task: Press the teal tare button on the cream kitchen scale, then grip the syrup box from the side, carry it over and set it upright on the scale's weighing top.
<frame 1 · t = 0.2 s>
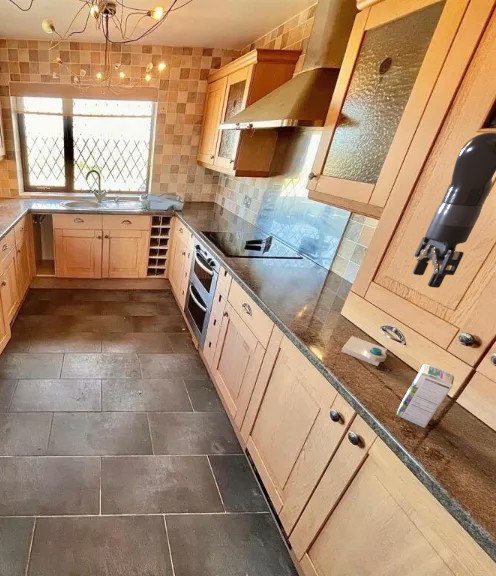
hand: (424, 280, 84), 31 cm above the countertop, tool pointing down, fingers open, 8 cm apart
tare button: (376, 351, 98), point 4 cm above the countertop, slide at 0.1 cm
syrup box: (412, 416, 81), on the countertop
scale: (363, 352, 104), on the countertop
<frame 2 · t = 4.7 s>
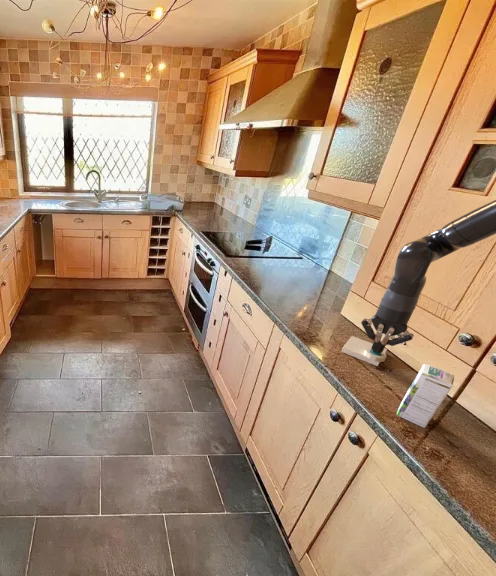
hand: (376, 351, 98), 4 cm above the countertop, tool pointing down, fingers closed
tare button: (375, 353, 99), point 3 cm above the countertop, slide at -0.7 cm, touching gripper
everything else where it was.
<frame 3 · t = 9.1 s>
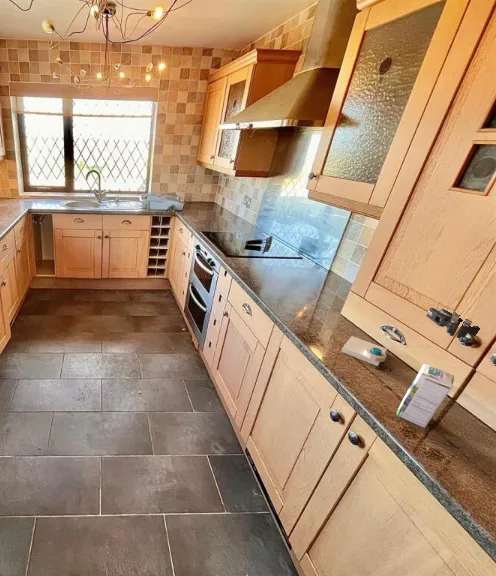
hand: (456, 333, 76), 22 cm above the countertop, tool horizontal, fingers closed
tare button: (376, 351, 98), point 4 cm above the countertop, slide at 0.1 cm
everything else where it was.
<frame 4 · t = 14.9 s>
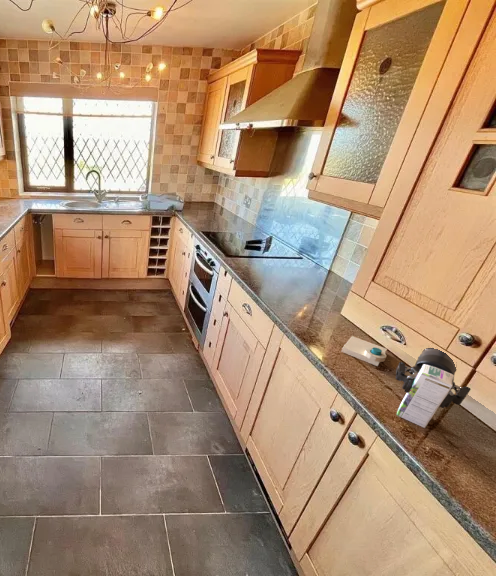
hand: (424, 396, 75), 9 cm above the countertop, tool horizontal, fingers closed on syrup box, 6 cm apart
syrup box: (412, 416, 81), on the countertop, touching gripper
everything else where it was.
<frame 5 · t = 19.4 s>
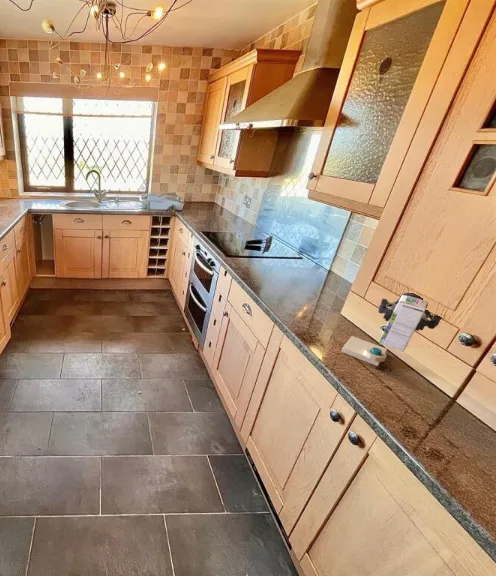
hand: (402, 322, 85), 20 cm above the countertop, tool horizontal, fingers closed on syrup box, 6 cm apart
syrup box: (392, 344, 90), point 11 cm above the countertop, touching gripper
everything else where it was.
when the fingers open (10 cm above the countertop, at t = 24.2 s): syrup box stays where it is, resting on scale.
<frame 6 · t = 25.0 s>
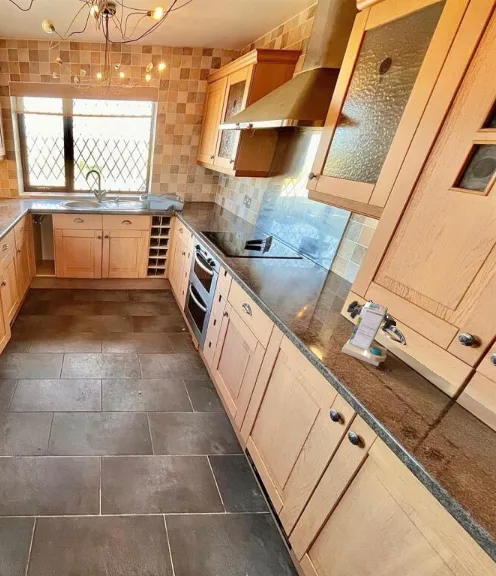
hand: (368, 321, 100), 12 cm above the countertop, tool horizontal, fingers open, 8 cm apart
syrup box: (360, 343, 106), point 2 cm above the countertop, touching scale
everything else where it was.
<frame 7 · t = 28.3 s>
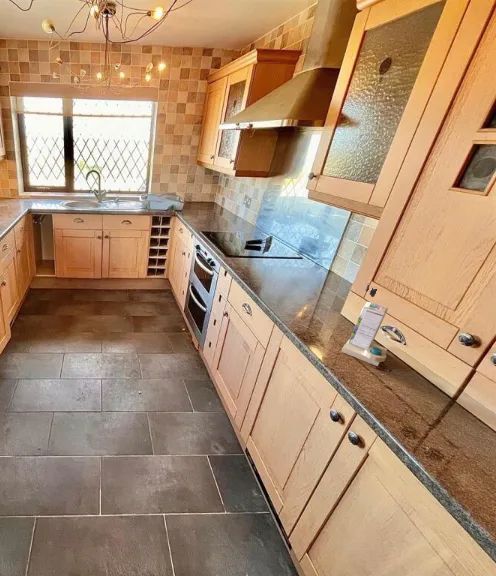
hand: (388, 298, 101), 18 cm above the countertop, tool horizontal, fingers open, 8 cm apart
nothing on the countertop moved.
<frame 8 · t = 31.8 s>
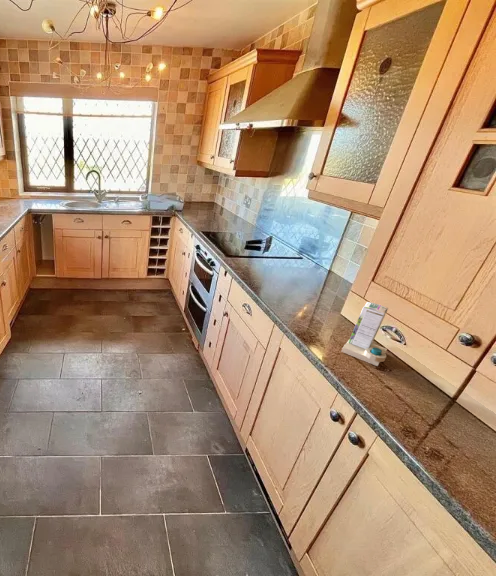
nothing on the countertop moved.
at the end: syrup box inside the target area on the scale (0.2 cm from its centre), point 1.7 cm above the scale's base; syrup box tilted 0°; tare button pushed in 0.9 cm at the most during the clip, back to where it started at the end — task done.
